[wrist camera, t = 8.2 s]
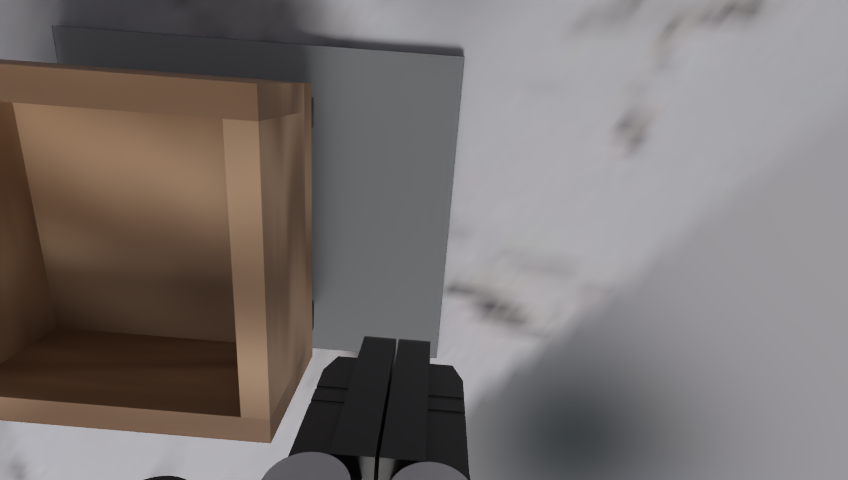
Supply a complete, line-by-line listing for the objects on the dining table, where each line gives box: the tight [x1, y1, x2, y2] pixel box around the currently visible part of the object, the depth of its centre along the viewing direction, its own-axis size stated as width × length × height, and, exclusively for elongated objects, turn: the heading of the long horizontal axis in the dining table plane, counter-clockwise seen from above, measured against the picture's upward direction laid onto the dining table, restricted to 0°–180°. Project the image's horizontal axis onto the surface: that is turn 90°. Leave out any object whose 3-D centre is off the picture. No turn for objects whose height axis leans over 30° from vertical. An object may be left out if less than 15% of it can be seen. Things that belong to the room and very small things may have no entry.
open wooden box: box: [0, 59, 314, 443], centre depth 19 cm, size 12×12×8 cm
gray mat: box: [52, 26, 464, 358], centre depth 23 cm, size 15×18×1 cm
